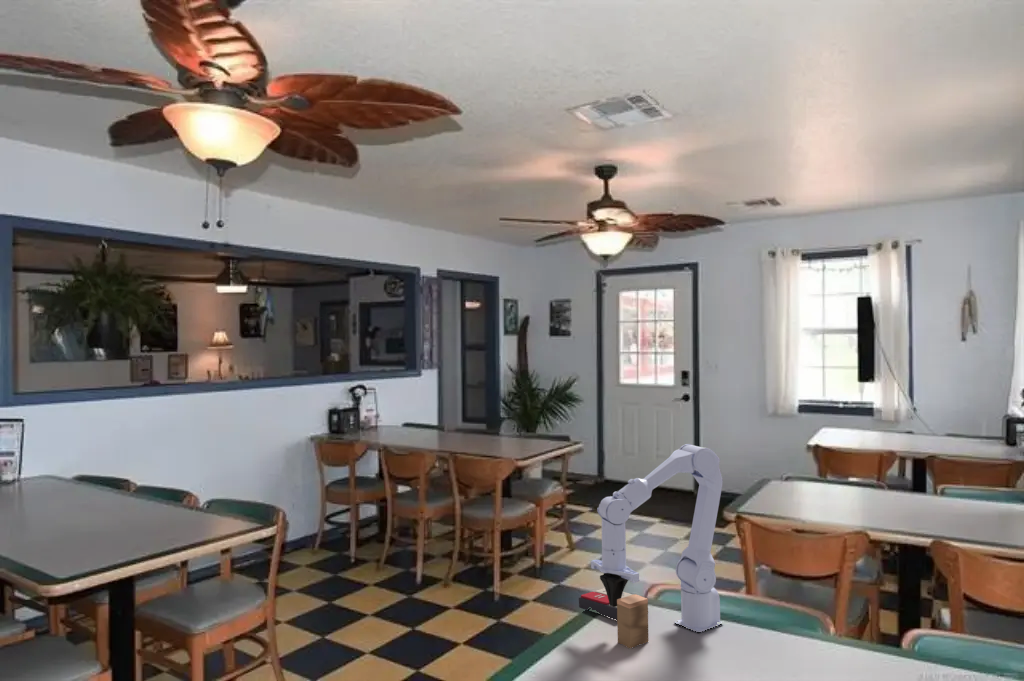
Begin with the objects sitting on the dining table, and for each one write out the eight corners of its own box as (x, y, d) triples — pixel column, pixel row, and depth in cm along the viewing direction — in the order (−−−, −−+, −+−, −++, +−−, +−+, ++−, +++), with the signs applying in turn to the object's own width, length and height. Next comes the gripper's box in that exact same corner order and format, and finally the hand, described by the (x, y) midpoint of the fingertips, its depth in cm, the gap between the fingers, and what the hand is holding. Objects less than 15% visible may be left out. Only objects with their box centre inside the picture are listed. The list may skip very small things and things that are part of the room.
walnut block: (636, 636, 164) (635, 594, 165) (648, 642, 161) (647, 598, 161) (617, 642, 161) (617, 599, 161) (630, 648, 158) (629, 604, 158)
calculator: (606, 585, 192) (648, 596, 180) (606, 601, 192) (649, 613, 180) (577, 594, 185) (619, 606, 173) (578, 610, 185) (620, 623, 173)
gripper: (581, 544, 170) (582, 600, 170) (623, 557, 158) (624, 617, 158) (602, 540, 174) (603, 594, 174) (645, 552, 162) (646, 611, 162)
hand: (614, 605), depth 166 cm, fingers closed
